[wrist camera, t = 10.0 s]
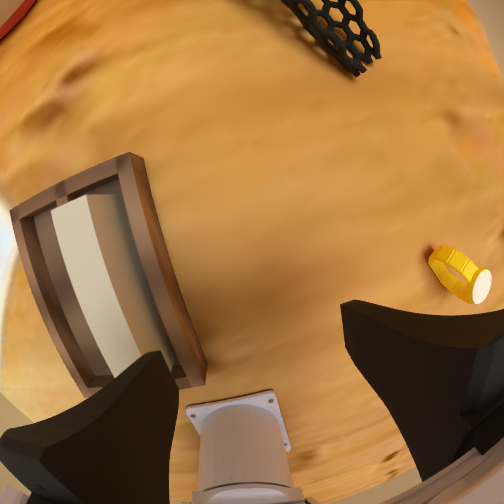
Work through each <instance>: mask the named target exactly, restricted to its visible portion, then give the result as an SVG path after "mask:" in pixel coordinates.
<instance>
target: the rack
mask: <svg viewBox="0 0 504 504" xmlns="http://www.w3.org/2000/svg"><path fill="white" fill-rule="evenodd" d="M99 194H122V197H123V201H124V205H125V209H126V213H127V217H128V221H129V224H130V228H131V231H132V235H133V238H134V242H135V245H136V248H137V252H138V255H139V258H140V261H141V264H142V267H143V270H144V273H145V276H146V279H147V282H148V285H149V288H150V291H151V294H152V296H153V299H154V302H155V304H156V307H157V310H158V312H159V315H160V318H161V320H162V323H163V325H164V328H165V330H166V333H167V335H168V337H169V340H170V342H171V345H172V347H173V349H174V352H175V354H176V357H175V360H174V363H173V367H172V370H171V374H172V376H173V378H174V380H175V382H176V384H177V386H178V388H179V389H185V388H191V387H197V386H203V385H205V380H206V370H207V362H206V360H205V357H204V355H203V352H202V350H201V347H200V344H199V342H198V339H197V337H196V334H195V331H194V329H193V326H192V323H191V320H190V318H189V315H188V312H187V309H186V306H185V304H184V301H183V298H182V295H181V292H180V289H179V286H178V283H177V280H176V277H175V274H174V271H173V268H172V264H171V261H170V258H169V255H168V251H167V248H166V245H165V241H164V238H163V234H162V231H161V227H160V224H159V220H158V217H157V213H156V209H155V205H154V201H153V198H152V194H151V190H150V185H149V181H148V177H147V173H146V169H145V164H144V160H143V158H142V157H140V156H138V155H135V154H133V153H131V152H128V153H125V154H123V155H120V156H118V157H115V158H113V159H110V160H108V161H105V162H103V163H101V164H98V165H96V166H94V167H91V168H89V169H87V170H85V171H82V172H80V173H78V174H76V175H74V176H72V177H70V178H68V179H66V180H63V181H61V182H59V183H58V184H56V185H54V186H52V187H50V188H48V189H46V190H44V191H42V192H40V193H39V194H37V195H35V196H33V197H31V198H30V199H28V200H26V201H24V202H23V203H21V204H19V205H18V206H16V207H14V208H13V209H11V210H10V215H11V220H12V225H13V229H14V234H15V238H16V242H17V246H18V250H19V253H20V257H21V260H22V264H23V267H24V270H25V273H26V276H27V279H28V282H29V285H30V288H31V291H32V293H33V296H34V299H35V301H36V304H37V306H38V309H39V311H40V314H41V316H42V319H43V321H44V323H45V325H46V328H47V330H48V332H49V334H50V336H51V338H52V340H53V343H54V345H55V347H56V349H57V351H58V352H59V354H60V356H61V358H62V360H63V362H64V364H65V366H66V367H67V369H68V371H69V373H70V374H71V376H72V378H73V380H74V381H75V383H76V385H77V386H78V388H79V389H80V391H81V393H82V394H83V396H84V397H91V396H92V395H94V394H95V393H96V392H98V391H99V390H100V389H102V388H103V387H104V386H105V385H107V384H108V383H109V382H111V381H112V380H113V379H114V378H115V377H114V375H113V374H112V372H111V370H110V368H109V366H108V364H107V363H106V361H105V359H104V357H103V355H102V353H101V351H100V349H99V347H98V345H97V343H96V341H95V338H94V336H93V334H92V332H91V330H90V328H89V325H88V323H87V321H86V318H85V316H84V314H83V311H82V309H81V306H80V304H79V301H78V299H77V296H76V294H75V291H74V288H73V286H72V283H71V280H70V277H69V274H68V271H67V268H66V265H65V262H64V259H63V256H62V252H61V249H60V245H59V242H58V238H57V235H56V231H55V227H54V223H53V219H52V214H51V210H53V209H55V208H57V207H59V206H62V205H64V204H66V203H68V202H70V201H73V200H75V199H77V198H79V197H82V196H84V195H99Z"/></svg>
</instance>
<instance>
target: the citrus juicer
mask: <svg viewBox="0 0 504 504" xmlns="http://www.w3.org/2000/svg"><path fill="white" fill-rule="evenodd" d="M35 1H36V0H0V39H2V38H3V37H4V36H5V35H6V34H7V33H8V32H9V31H10V30H11V29H12V28H13V27H14V26H15V25H16V24H17V23H18V22H19V21H20V20H21V19H22V18H23V17H24V16H25V15H26V13H27V11H28V10H29V9H30V7H31V6H32V5H33V3H34V2H35Z"/></svg>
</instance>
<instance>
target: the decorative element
mask: <svg viewBox="0 0 504 504" xmlns="http://www.w3.org/2000/svg"><path fill="white" fill-rule="evenodd" d="M281 1H282V2H283V3H284V4H285V5H286V6H287V7H288V8H290V9H291V11H292V12H293V13H294V14H295V15H296V16H297V18H298V19H299V21H300V22H301V24H302V25H303V27H304V28H305V29H306V30H307V31H308V32H309V33H310V34H311V35H312V36H313V37H314V38H315V39H316V40H317V41H318V42H319V43H321V44H322V45H323V46H324V47H325V48H326V49H327V50H328V51H329V53H330V54H331V55H332V56H333V57H334V58H335V59H336V60H337V62H338V63H340V64H341V65H342V66H343V67H344V68H345V69H347V70H348V71H349V72H350V73H351V74H353V75H354V76H355V77H358V76H359V75H360V72H361V73H364V72H365V71H366V70H367V69H366V68H365V67H364V66H363V64H362V63H361V60H364V61H366V62H367V64H370V63H372V62H373V61H372V59H371V54H372V55H373V56H374V57H375V59H380V58H381V55H380V44H379V41H378V39H377V37H376V35H375V33H374V32H373V31H372V30H370V29H369V28H367V26H366V24H365V22H364V21H363V9H362V7H361V5H360V4H359V2H358V1H357V0H347V1H350V2H351V4H352V5H353V7H354V8H355V10H356V15H353V14H350V13H349V11H348V10H347V9H346V7H345V3H346V0H338V2H333V1H330V0H321V1H322V2H323V3H324V5H323V8H322V10H316V7H315V6H314V4H313V3H312V2H311V1H310V0H281ZM298 3H299V4H302V5H303V6H304V7H305V9H306V10H307V11H308V16H306V15H305V14H304V13H303V12H302V10H301V9H300V8H299V7H298ZM331 7H332V8H337V9H339V10H340V12H341V13H342V14H343V19H342V22H338V21H334V20H333V19H332V18H331V16H330V15H329V11H330V8H331ZM318 16H321V17H323V18H324V19H325V21H326V22H327V23H328V26H327V29H324V28H323V27H322V26H321V25H320V23H319V22H318V21H317V20H318ZM350 20H352V21H355V22H357V24H358V26H359V28H360V29H361V30H360V35H358V34H354V33H353V32H352V31H351V29H350V28H349V26H348V25H349V22H350ZM335 27H338V28H342V29H343V30H344V32H345V33H346V35H347V40H346V41H344V40H342V39H341V38H340V37H339V36H338V35H337V34H335V33H334V28H335ZM367 35H369V37H370V39H371V41H372V44H373V48H372V47H371V46H370V45H369V43H368V41H367V39H366V38H367ZM328 38H330V39H331V40H332V41H333V42H334V45H335V47H334V46H333V45H332V44H331V43H330V42H329V41H328ZM354 40H357V41H359V42H361V44H362V45H363V47H364V49H365V51H364V54H363V53H360V52H358V50H357V49H356V48H355V47H354V45H353V42H354ZM346 48H348V49H349V51H350V52H351V53H352V54H353V59H352V58H350V57H349V56H348V55H347V53H346ZM359 71H360V72H359Z"/></svg>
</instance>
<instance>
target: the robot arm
mask: <svg viewBox="0 0 504 504" xmlns="http://www.w3.org/2000/svg"><path fill="white" fill-rule="evenodd" d="M340 307H341V315H342V323H343V331H344V340H345V348H346V349H347V351H348V353H349V355H350V357H351V359H352V361H353V362H354V364H355V366H356V367H357V368H358V370H359V371H360V372H361V374H362V375H363V376H364V378H365V379H366V380H367V381H368V383H369V384H370V385H371V387H372V388H373V389H374V391H375V392H376V393H377V394H378V396H379V397H380V398H381V400H382V401H383V402H384V404H385V405H386V407H387V408H388V410H389V412H390V414H391V415H392V417H393V419H394V421H395V423H396V424H397V426H398V428H399V430H400V432H401V434H402V436H403V438H404V440H405V442H406V444H407V446H408V448H409V450H410V453H411V455H412V457H413V459H414V462H415V464H416V466H417V469H418V471H419V474H420V477H421V479H422V483H420V484H418V485H416V486H415V487H413V488H411V489H409V490H408V491H405V492H403V493H401V494H399V495H397V496H395V497H393V498H391V499H389V500H387V501H384V502H382V503H380V504H504V309H502V310H498V311H493V312H487V313H481V314H473V315H456V316H441V315H428V314H419V313H413V312H407V311H402V310H397V309H393V308H389V307H385V306H381V305H377V304H373V303H369V302H365V301H360V300H352V301H349V302H346V303H343V304H340ZM269 399H273V400H269ZM178 406H179V388H178V386H177V384H176V382H175V380H174V378H173V376H172V374H171V372H170V370H169V367H168V365H167V363H166V361H165V359H164V357H163V355H162V352H161V350H158V351H152V352H147V353H145V354H144V355H142V356H141V357H139V358H138V359H137V360H136V361H135V362H133V363H132V364H131V365H130V366H129V367H127V368H126V369H125V370H124V371H123V372H122V373H120V374H119V375H118V376H117V377H116V378H114V379H113V380H112V381H111V382H109V383H108V384H107V385H105V386H104V387H103V388H102V389H100V390H99V391H98V392H96V393H95V394H94V395H92V396H91V397H89V398H88V399H86V400H84V401H83V402H81V403H79V404H78V405H76V406H74V407H72V408H70V409H68V410H66V411H64V412H62V413H60V414H58V415H56V416H53V417H51V418H48V419H46V420H43V421H40V422H37V423H33V424H30V425H26V426H22V427H17V428H11V429H8V430H6V431H5V432H4V434H3V435H2V436H1V438H0V461H1V462H2V463H3V465H4V466H5V467H6V468H7V469H8V470H9V471H10V472H11V473H12V474H13V475H14V476H15V477H16V478H17V479H18V480H19V481H20V482H21V483H22V484H23V485H24V486H25V487H27V488H28V489H29V490H30V491H31V492H32V493H31V495H30V497H28V496H27V495H25V494H24V493H22V492H20V491H18V490H16V489H14V488H12V487H10V486H8V485H5V487H4V489H3V491H2V493H1V495H0V504H170V502H169V459H170V451H171V446H172V440H173V435H174V430H175V425H176V419H177V414H178ZM186 414H187V415H188V417H189V419H190V421H191V422H192V424H193V426H194V427H195V429H196V431H197V432H198V434H199V436H200V450H199V465H198V480H197V491H193V492H192V503H189V502H182V503H181V504H322V503H320V502H319V501H318V500H316V499H315V498H313V497H309V498H304V495H303V491H302V488H294V484H293V480H292V476H291V471H290V467H289V463H288V459H287V455H286V452H288V451H290V450H291V445H290V442H289V439H288V435H287V432H286V429H285V425H284V422H283V419H282V415H281V412H280V409H279V405H278V402H277V399H276V395H275V393H274V392H273V391H265V392H261V393H257V394H252V395H248V396H243V397H238V398H234V399H228V400H223V401H218V402H212V403H206V404H200V405H193V406H188V407H186ZM192 414H195V415H192Z"/></svg>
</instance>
